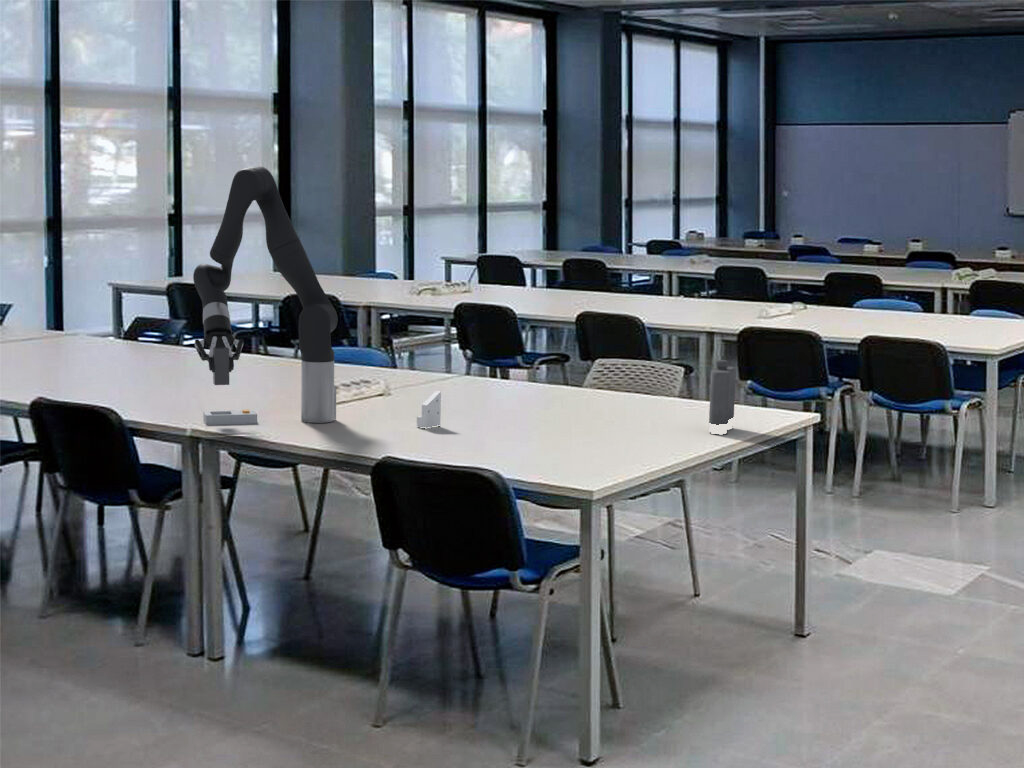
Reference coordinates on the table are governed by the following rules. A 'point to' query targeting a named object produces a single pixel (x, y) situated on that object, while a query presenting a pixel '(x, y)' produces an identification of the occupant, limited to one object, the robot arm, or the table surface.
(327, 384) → the robot arm
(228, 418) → the power strip
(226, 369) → the plug
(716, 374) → the flask
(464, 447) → the table surface
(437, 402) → the white angled block
